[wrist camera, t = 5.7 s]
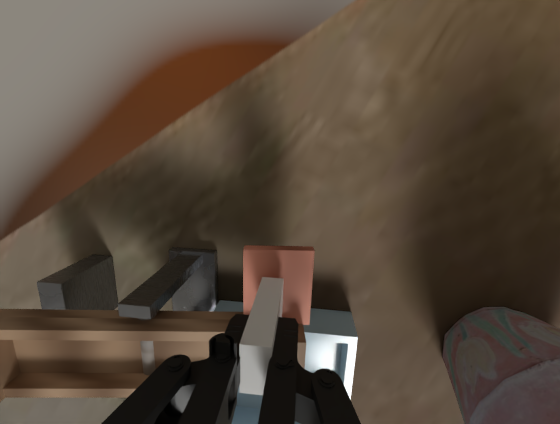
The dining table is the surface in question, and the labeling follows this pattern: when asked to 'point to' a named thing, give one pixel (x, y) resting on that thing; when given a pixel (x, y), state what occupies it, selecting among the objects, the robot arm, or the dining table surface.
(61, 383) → the brown wooden trough
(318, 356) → the dish
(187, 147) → the dining table surface
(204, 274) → the fulcrum
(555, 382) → the potted plant
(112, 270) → the block
